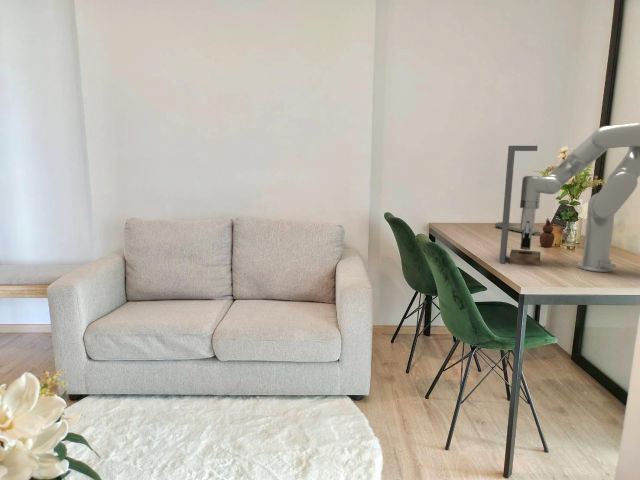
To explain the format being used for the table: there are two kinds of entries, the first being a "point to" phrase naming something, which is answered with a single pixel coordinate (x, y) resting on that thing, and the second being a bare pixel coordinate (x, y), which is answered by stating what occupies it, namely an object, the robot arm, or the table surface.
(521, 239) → the peg
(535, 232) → the elongated rock
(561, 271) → the table surface
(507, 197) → the gallows post stand
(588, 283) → the table surface
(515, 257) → the socket block
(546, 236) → the wooden figurine
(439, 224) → the table surface
